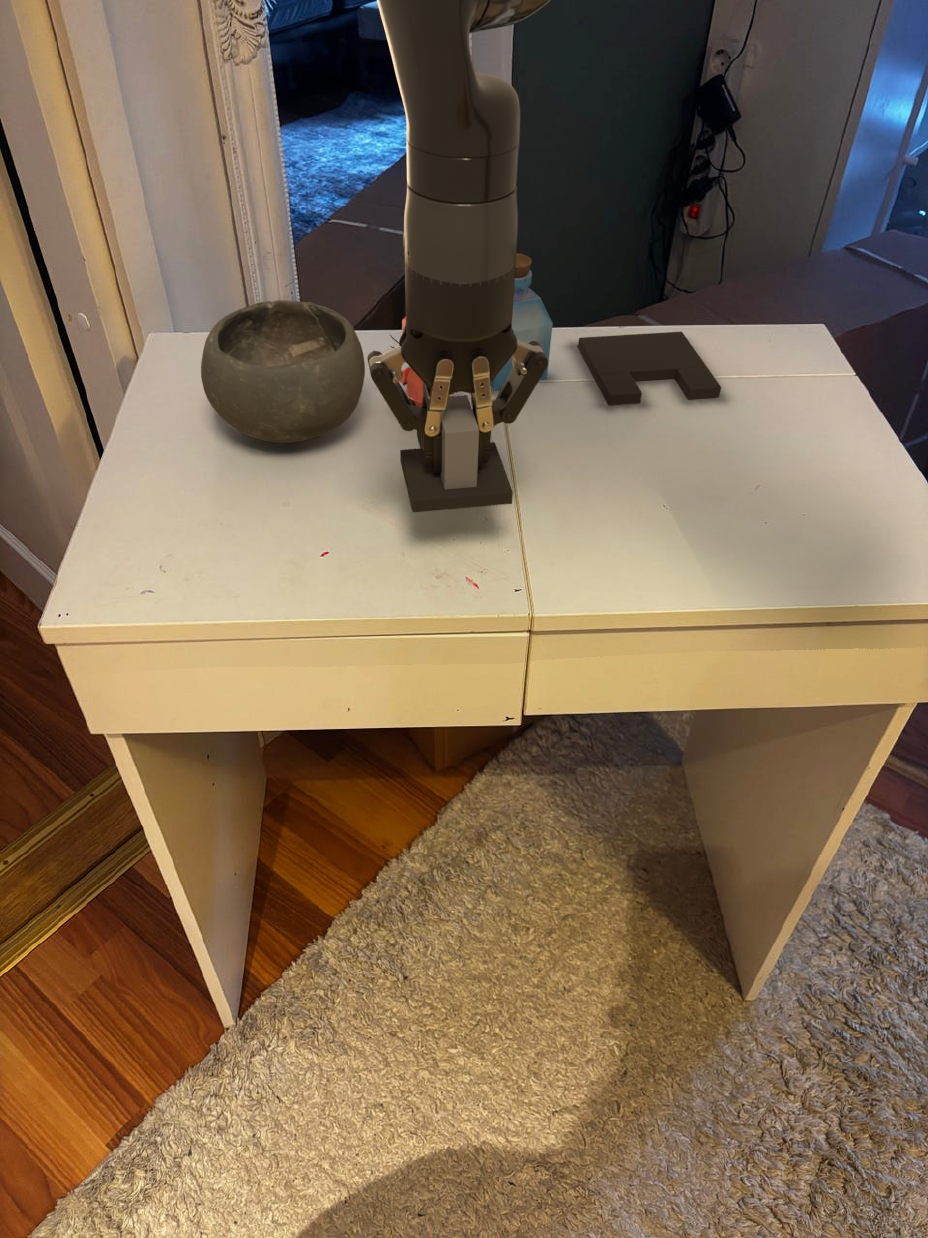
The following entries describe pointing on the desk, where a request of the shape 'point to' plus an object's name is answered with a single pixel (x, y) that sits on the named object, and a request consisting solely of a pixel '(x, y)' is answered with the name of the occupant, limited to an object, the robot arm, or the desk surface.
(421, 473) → the tab pad
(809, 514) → the desk surface
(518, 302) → the perfume bottle
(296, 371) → the bowl
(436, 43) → the robot arm
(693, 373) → the notch pad
